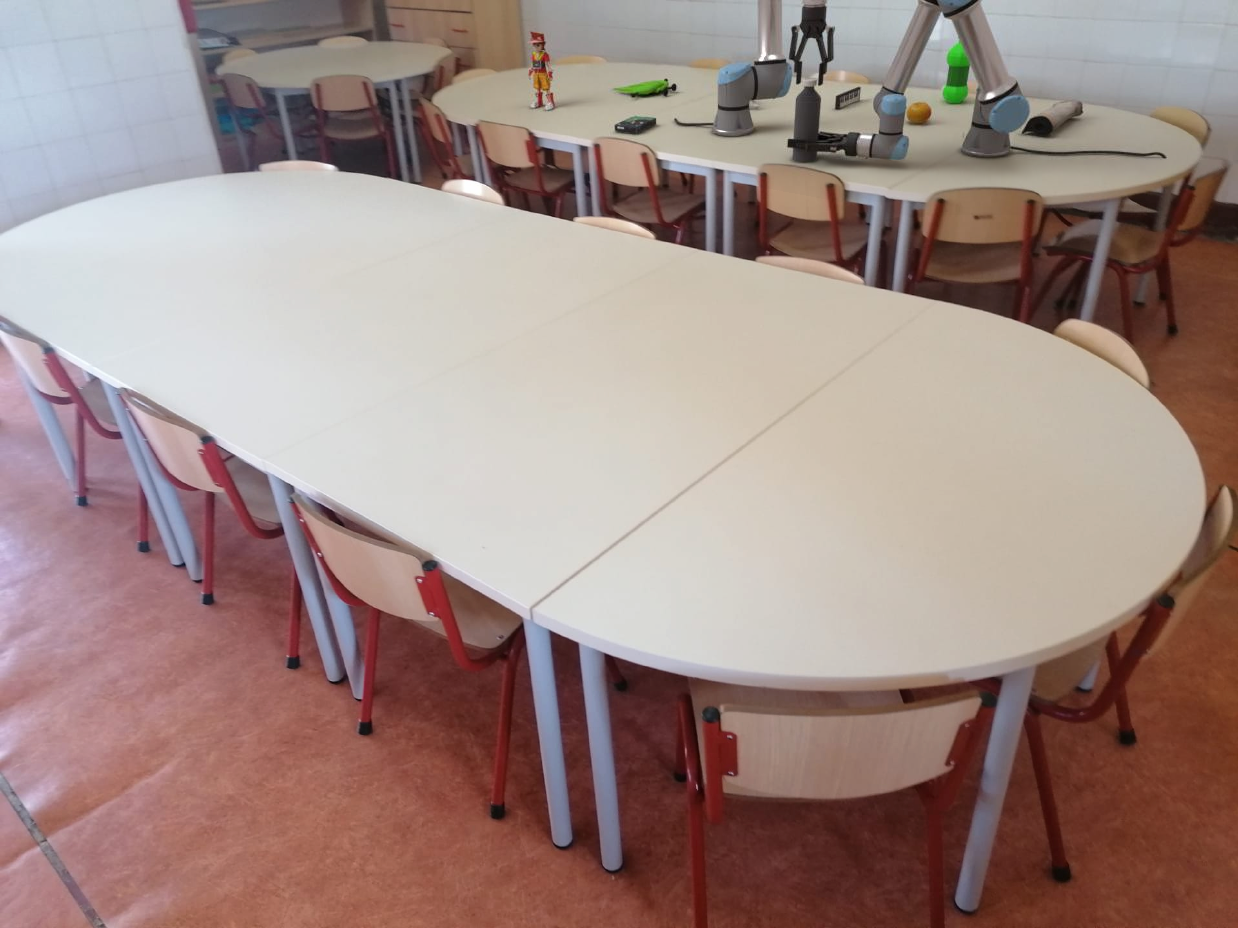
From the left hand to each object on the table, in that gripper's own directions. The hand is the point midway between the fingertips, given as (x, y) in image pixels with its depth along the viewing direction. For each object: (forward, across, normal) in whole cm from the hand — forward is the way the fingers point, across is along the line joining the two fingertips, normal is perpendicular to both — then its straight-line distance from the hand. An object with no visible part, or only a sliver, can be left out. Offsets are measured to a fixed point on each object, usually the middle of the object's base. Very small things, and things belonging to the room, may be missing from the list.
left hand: (809, 84), depth 290 cm
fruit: (+24, +24, +56) cm, 66 cm away
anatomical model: (+24, -48, +61) cm, 81 cm away
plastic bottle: (+24, +29, +91) cm, 98 cm away
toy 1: (+24, -129, +34) cm, 136 cm away
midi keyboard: (+24, -9, +75) cm, 79 cm away
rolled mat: (+24, +69, +65) cm, 98 cm away
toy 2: (+24, -101, +71) cm, 126 cm away
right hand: (+18, -5, 0) cm, 19 cm away
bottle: (+24, 0, 0) cm, 24 cm away
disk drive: (+24, -74, +16) cm, 80 cm away
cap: (-1, 0, 0) cm, 1 cm away
